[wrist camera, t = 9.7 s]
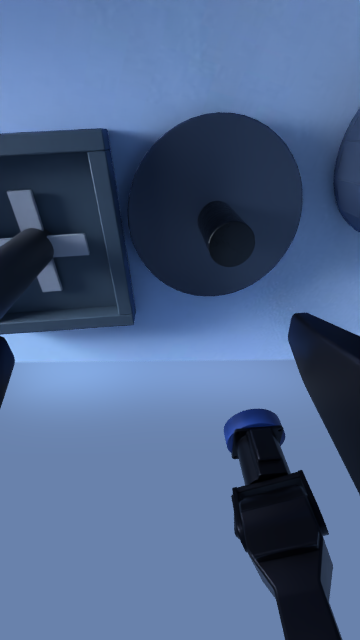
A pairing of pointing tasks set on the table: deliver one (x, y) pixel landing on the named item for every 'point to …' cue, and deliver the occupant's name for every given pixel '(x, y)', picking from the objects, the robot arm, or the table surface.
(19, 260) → the post with cross base
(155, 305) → the table surface
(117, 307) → the tray
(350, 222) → the round container
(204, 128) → the lid
